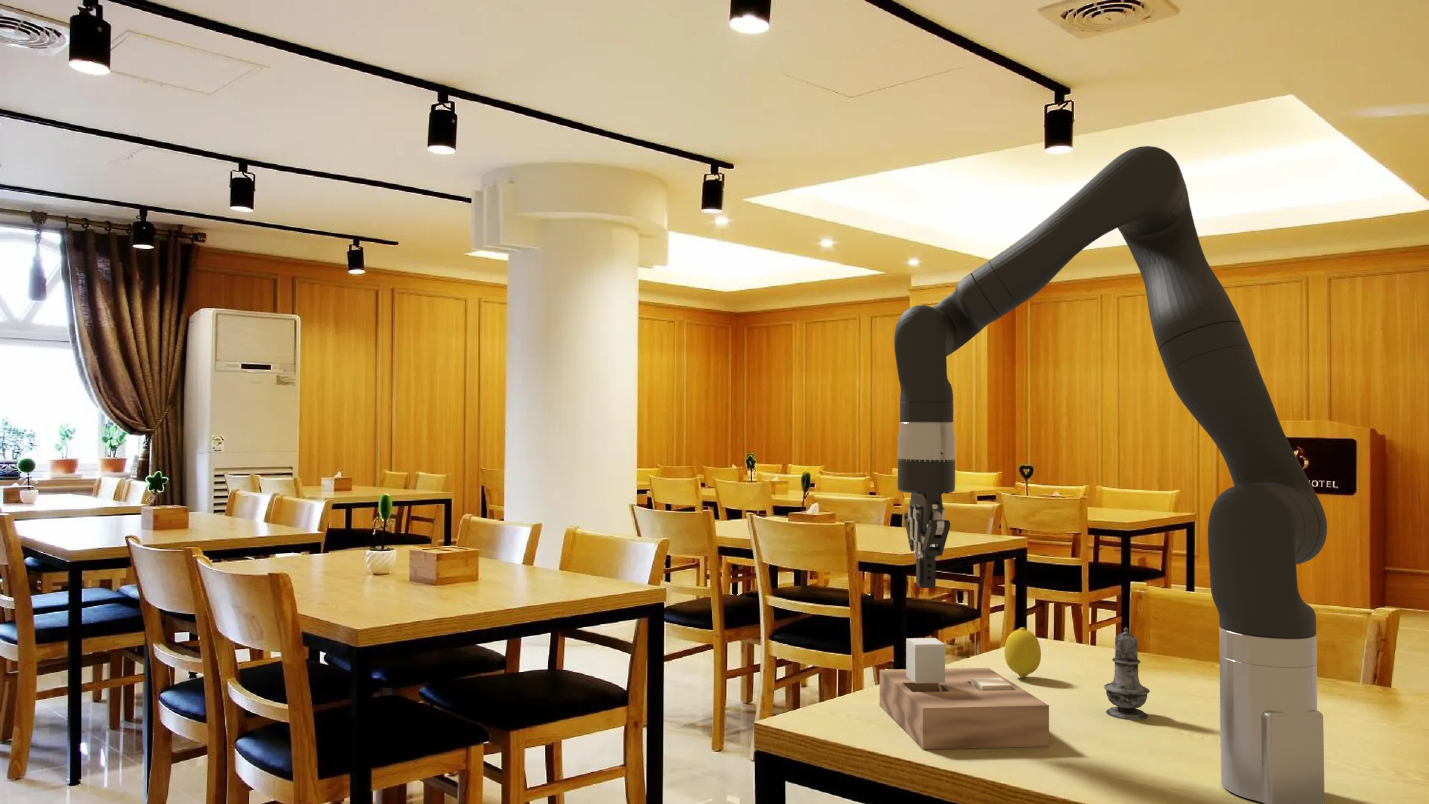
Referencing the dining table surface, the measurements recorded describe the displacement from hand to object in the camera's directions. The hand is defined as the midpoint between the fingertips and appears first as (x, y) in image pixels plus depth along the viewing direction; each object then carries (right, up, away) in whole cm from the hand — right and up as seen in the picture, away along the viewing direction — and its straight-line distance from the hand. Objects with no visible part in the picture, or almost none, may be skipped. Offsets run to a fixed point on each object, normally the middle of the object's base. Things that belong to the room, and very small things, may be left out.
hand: (925, 586), depth 132 cm
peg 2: (+9, -18, 0) cm, 20 cm away
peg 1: (0, -12, -1) cm, 12 cm away
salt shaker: (+29, -19, +5) cm, 35 cm away
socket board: (+4, -18, 0) cm, 19 cm away
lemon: (+21, -19, +25) cm, 38 cm away
